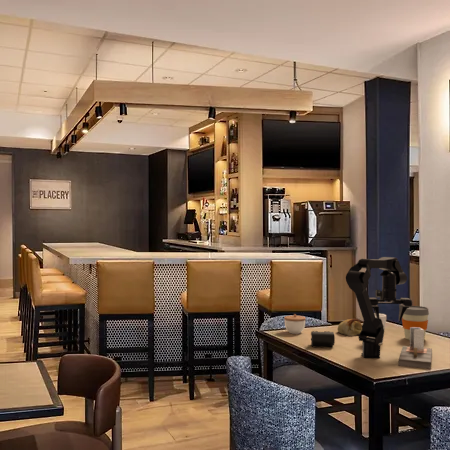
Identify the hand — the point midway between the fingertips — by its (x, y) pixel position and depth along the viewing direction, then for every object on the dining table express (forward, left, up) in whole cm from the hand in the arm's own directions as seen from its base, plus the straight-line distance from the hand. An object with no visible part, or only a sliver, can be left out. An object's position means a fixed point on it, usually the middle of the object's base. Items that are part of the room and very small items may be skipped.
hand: (388, 321), depth 241 cm
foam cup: (-2, +16, -13) cm, 21 cm away
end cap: (-28, +7, -13) cm, 32 cm away
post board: (+8, -14, -13) cm, 21 cm away
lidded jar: (-38, +36, -13) cm, 54 cm away
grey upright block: (+10, -9, -10) cm, 16 cm away
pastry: (-10, +37, -13) cm, 40 cm away
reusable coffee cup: (+19, +26, -13) cm, 35 cm away
